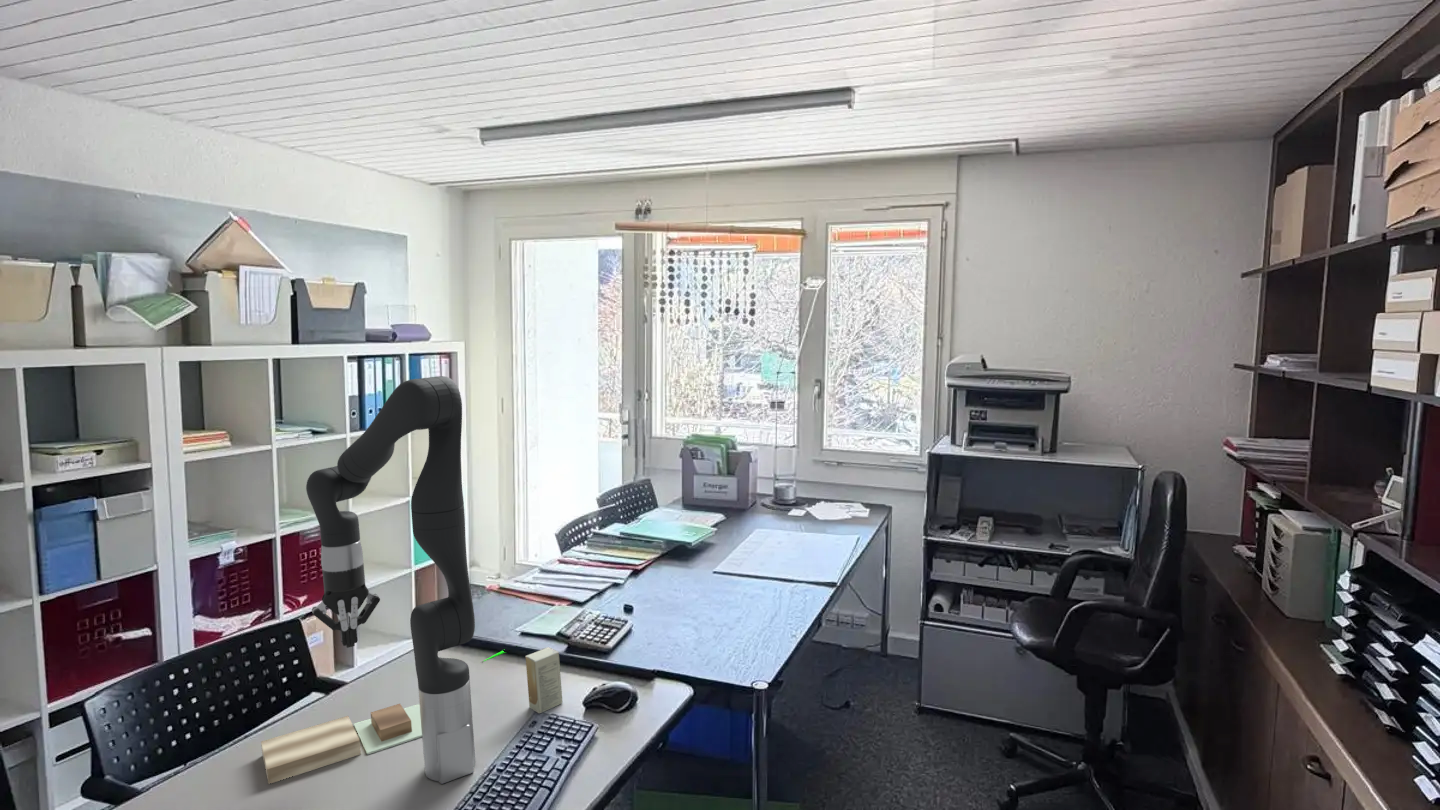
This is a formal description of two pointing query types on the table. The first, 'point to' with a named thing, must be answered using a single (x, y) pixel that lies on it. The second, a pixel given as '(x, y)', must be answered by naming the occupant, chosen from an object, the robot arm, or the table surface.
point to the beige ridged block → (309, 749)
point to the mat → (374, 743)
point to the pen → (495, 655)
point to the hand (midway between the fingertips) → (350, 645)
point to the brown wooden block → (391, 722)
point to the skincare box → (544, 679)
